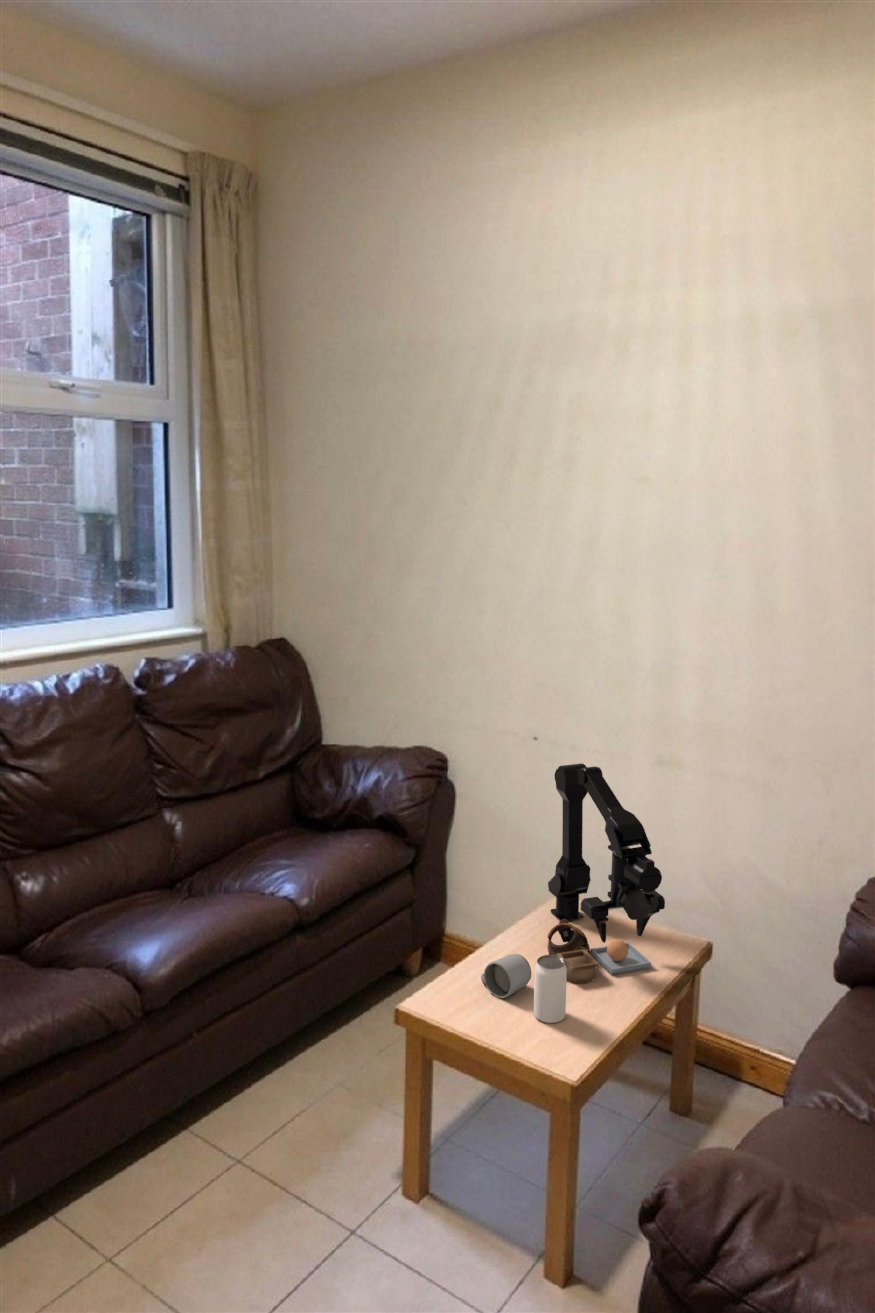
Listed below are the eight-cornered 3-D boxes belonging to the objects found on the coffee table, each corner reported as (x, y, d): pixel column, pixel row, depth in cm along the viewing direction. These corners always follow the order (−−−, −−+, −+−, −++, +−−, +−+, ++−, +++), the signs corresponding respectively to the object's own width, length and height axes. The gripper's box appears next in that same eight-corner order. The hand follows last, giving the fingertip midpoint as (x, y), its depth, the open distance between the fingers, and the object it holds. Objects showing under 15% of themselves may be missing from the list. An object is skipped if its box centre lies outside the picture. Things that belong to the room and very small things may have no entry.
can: (570, 1012, 192) (572, 958, 190) (557, 1028, 187) (559, 972, 185) (541, 1003, 196) (542, 950, 194) (528, 1018, 190) (529, 964, 188)
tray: (590, 954, 216) (590, 948, 216) (628, 948, 219) (628, 942, 219) (611, 975, 207) (611, 969, 207) (651, 968, 210) (651, 962, 210)
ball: (606, 958, 215) (600, 941, 213) (623, 948, 216) (618, 931, 214) (616, 968, 210) (611, 951, 209) (634, 958, 211) (628, 941, 210)
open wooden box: (552, 968, 210) (553, 953, 209) (584, 963, 213) (585, 947, 212) (569, 986, 203) (569, 970, 202) (601, 980, 205) (602, 964, 204)
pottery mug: (598, 963, 214) (585, 939, 210) (560, 980, 214) (547, 956, 210) (583, 927, 224) (571, 904, 221) (547, 943, 225) (535, 920, 221)
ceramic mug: (534, 989, 202) (534, 955, 200) (510, 1004, 196) (510, 970, 194) (495, 972, 209) (495, 940, 207) (472, 986, 203) (472, 953, 201)
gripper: (604, 894, 199) (602, 962, 202) (680, 883, 205) (676, 949, 208) (580, 874, 209) (578, 938, 212) (653, 864, 215) (650, 927, 218)
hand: (621, 938), depth 212 cm, fingers open, 9 cm apart
